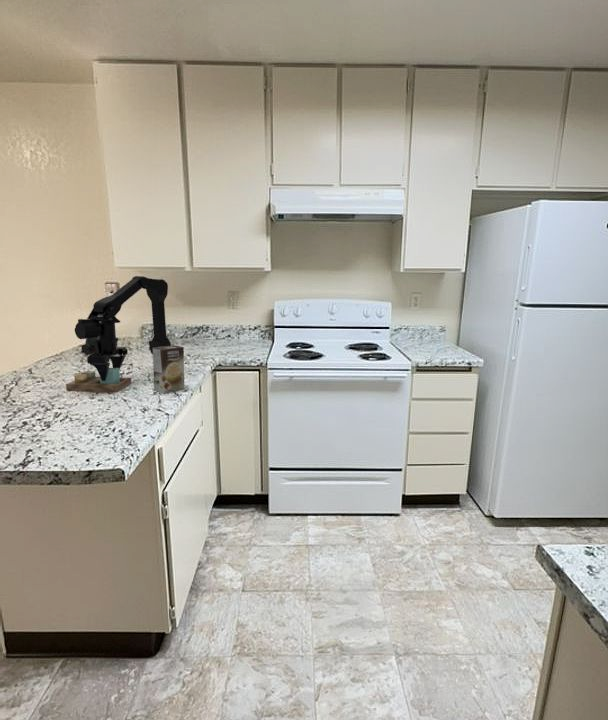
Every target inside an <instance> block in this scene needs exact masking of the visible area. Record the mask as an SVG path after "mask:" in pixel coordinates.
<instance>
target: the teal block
mask: <svg viewBox="0 0 608 720" xmlns="http://www.w3.org/2000/svg"><path fill="white" fill-rule="evenodd" d="M120 375H121V373H120V370H119V368H113V367H109V369H108V373H107V377H106V380H105V381H102V380H101V377H100V384H117V383H119V382H120V377H121V376H120Z"/></svg>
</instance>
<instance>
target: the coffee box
mask: <svg viewBox="0 0 608 720" xmlns="http://www.w3.org/2000/svg"><path fill="white" fill-rule="evenodd" d="M184 349H185V348H184V347H183V346H179V345H176V344H175V345H174V344H171V346H163V347H153V355H152V363H153V365H152V367H153V368H152V369H153V372H152V373H153V391H154V392H158V393H161V394H167V393H171V392H176V391H177V392H178V391H182V390H185V357H184V356H185V354H184V353H185V352H184V351H185V350H184Z"/></svg>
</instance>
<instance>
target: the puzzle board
mask: <svg viewBox="0 0 608 720" xmlns="http://www.w3.org/2000/svg"><path fill="white" fill-rule="evenodd" d="M73 376H74V377H73V378H74V380H72V381H70V382H68V383H66V384H65V389H66V392H85V393H86V392H87V393H89V392H91V393H113V392H117V393H119V392H120V391H121V390H123V389H125V388H127V387H128V386H131V384H132V377H129V376H128V377H126V376H125V377H124V376H122V377H121V376H120V382H119V383H117V384H100V375H99V376H96V371H95V370H85V371H83V372H80V373H79V374H75V375H73Z"/></svg>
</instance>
